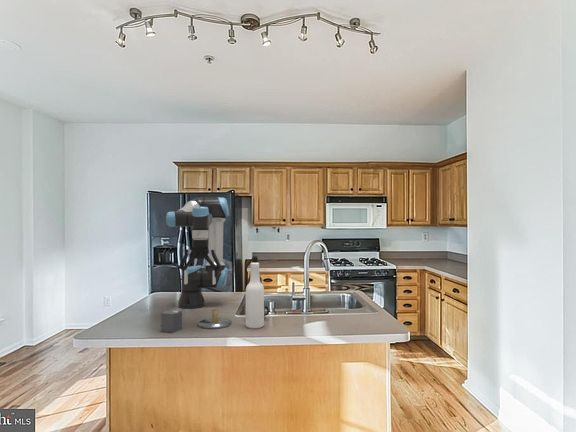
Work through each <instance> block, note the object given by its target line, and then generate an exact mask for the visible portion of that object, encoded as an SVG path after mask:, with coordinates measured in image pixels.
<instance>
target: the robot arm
mask: <svg viewBox="0 0 576 432" xmlns="http://www.w3.org/2000/svg"><path fill="white" fill-rule="evenodd" d="M229 211H230V210H229V204H228V200H227V199H226V198H225V197H219V196H217V197H216V196H215V197H210V196H209V197H206V196H205V197H203V196H201V197H196V198H193V199H191V200H189V201H187V202H186V203H185V204H184V206H183V207H181V208H179V209H178V210H177V211H168V212H166V216H165V221H166V225H167V226H168V227H174V228H176V227H178V228H179V227H183V228H184V227H185V228H187V227H191V228H192V230H191V233H192V237H191V238H192V239H191V249H189V248H187V249H185V250H184V255H183V257H182V259H181V261H180V262H179V265H178V270H179V269H180V270H181V276H180V277H181V278H180V280H181V282H180V283H181V285H180V286H181V288H180V289H181V290H180V292H181V293H180V296H179V300H178V302H177V303H178V304H177V307H178V308H180V309H189V310H190V309H199V308H202V306H203V307H204V306H205V298H204V296H203V293H202V291H203V289H218V288H220V289H222V288H225V286H226V284H227V281H228V271H229V270H228V269H229V268H228V267H226V264H225V263H224V262H223V261H224V224H225V221H226V220H227V217H229V215H230V214H229ZM190 254H191V255H192V256H191V257H190V259H189V260H187V259H188V257H189V256H190ZM196 259H197V260H199V259H200V260H205V261H207V263H206V264H205V265H204V266H205V267H203V266H202V265H193V266H191V264H192V263H193V261H195V260H196Z"/></svg>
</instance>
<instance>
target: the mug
mask: <svg viewBox="0 0 576 432" xmlns="http://www.w3.org/2000/svg"><path fill="white" fill-rule="evenodd" d="M269 312H270V309H269V307H268V306H266V301H265V300H264V320H265V319H266V316H268V315H269Z"/></svg>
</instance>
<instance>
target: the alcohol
mask: <svg viewBox="0 0 576 432" xmlns="http://www.w3.org/2000/svg"><path fill="white" fill-rule="evenodd" d="M260 276H261V275H260V262H258V263H252V262H251V263H250V275H249V277H250V282H249V284H248V283H247V285H246V288H245V327H246V328H247V329H251V330H252V329H254V330H255V329H261V328H263V327H264V325H265V319H264V301H265V288H264V285H263V284H261V282H260Z"/></svg>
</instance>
